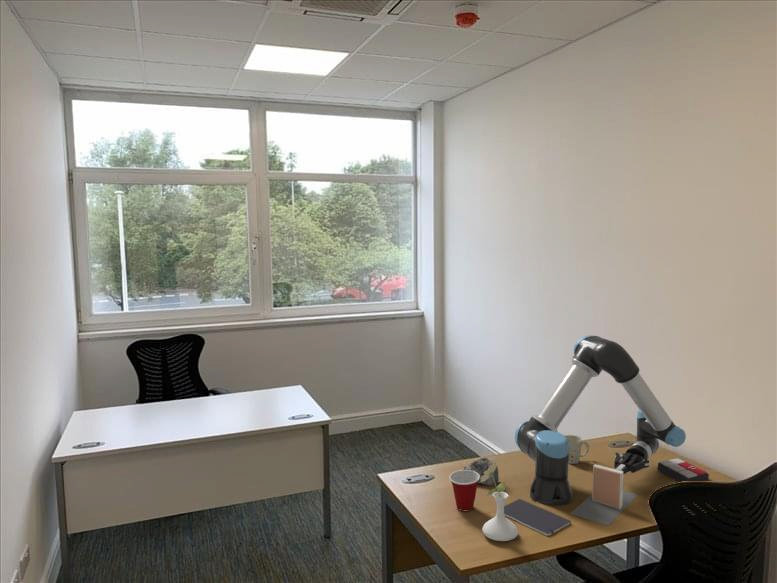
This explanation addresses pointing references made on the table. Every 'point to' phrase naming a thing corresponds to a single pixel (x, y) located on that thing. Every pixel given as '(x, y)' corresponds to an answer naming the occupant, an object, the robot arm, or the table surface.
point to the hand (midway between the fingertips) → (616, 473)
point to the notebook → (535, 517)
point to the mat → (602, 509)
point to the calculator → (682, 470)
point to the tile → (607, 486)
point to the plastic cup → (464, 488)
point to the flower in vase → (498, 513)
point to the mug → (575, 448)
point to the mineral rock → (483, 470)
